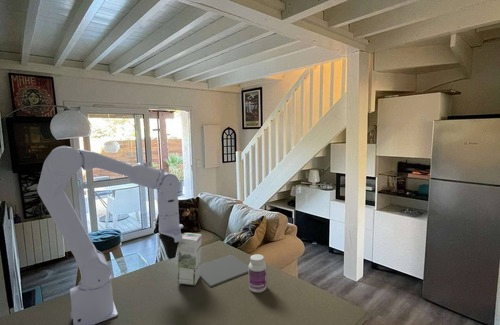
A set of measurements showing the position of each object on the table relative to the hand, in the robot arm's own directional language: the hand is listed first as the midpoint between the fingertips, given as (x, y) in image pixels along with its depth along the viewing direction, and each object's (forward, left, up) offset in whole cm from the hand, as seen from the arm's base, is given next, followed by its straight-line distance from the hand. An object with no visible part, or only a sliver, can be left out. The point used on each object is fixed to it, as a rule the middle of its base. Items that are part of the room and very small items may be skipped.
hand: (171, 257), depth 81 cm
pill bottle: (+20, -16, -10) cm, 27 cm away
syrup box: (+5, 0, -9) cm, 11 cm away
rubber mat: (+17, 0, -10) cm, 19 cm away
